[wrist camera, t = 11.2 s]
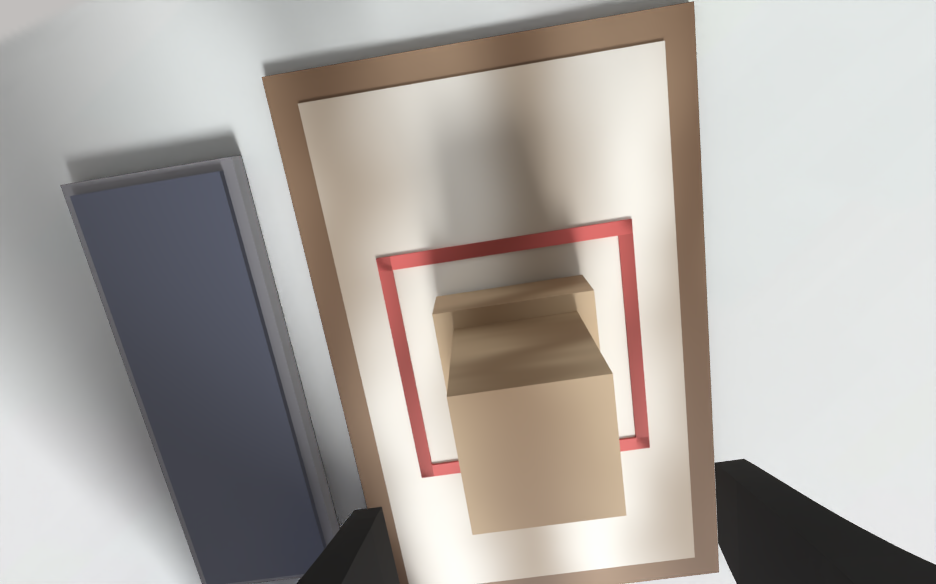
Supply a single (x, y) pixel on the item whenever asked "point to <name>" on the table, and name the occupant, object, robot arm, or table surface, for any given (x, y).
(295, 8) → the table surface
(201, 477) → the ink pad
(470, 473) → the stamp
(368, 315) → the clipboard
